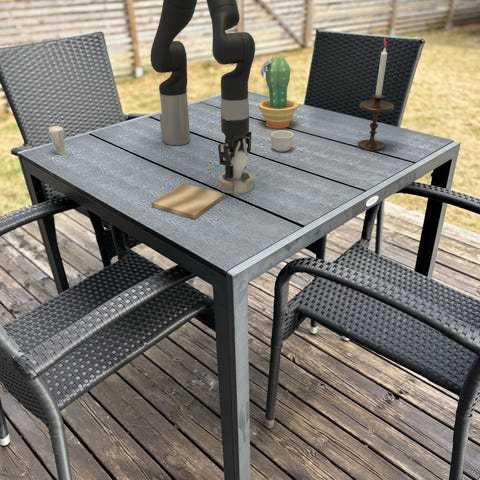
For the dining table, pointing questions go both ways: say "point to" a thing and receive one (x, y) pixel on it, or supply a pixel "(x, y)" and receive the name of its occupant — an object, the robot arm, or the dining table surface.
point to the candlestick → (376, 108)
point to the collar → (236, 183)
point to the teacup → (282, 140)
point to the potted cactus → (277, 94)
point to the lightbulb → (238, 165)
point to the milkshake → (58, 139)
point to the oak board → (188, 201)
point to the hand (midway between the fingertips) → (236, 172)
